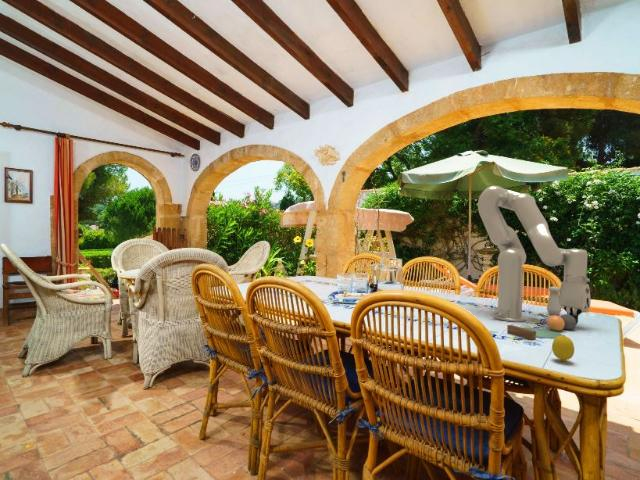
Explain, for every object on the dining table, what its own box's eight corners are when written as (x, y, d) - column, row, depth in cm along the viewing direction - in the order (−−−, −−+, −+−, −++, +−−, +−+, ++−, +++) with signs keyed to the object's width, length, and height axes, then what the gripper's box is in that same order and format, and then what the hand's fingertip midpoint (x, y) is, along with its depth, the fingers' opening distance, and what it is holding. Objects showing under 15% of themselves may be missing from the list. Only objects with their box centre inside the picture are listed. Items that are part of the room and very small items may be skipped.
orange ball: (558, 333, 141) (558, 317, 141) (543, 329, 146) (543, 314, 146) (568, 331, 143) (568, 316, 143) (552, 328, 149) (553, 313, 149)
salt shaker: (564, 315, 171) (564, 287, 171) (551, 315, 171) (552, 287, 171) (556, 313, 177) (556, 286, 177) (544, 312, 177) (544, 285, 177)
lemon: (577, 365, 107) (578, 338, 106) (556, 363, 108) (557, 336, 107) (568, 359, 112) (569, 332, 112) (548, 357, 113) (549, 331, 113)
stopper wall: (532, 340, 131) (532, 331, 131) (507, 333, 140) (507, 325, 140) (535, 339, 132) (536, 331, 132) (510, 332, 141) (511, 324, 141)
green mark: (546, 340, 132) (546, 339, 132) (511, 330, 144) (511, 329, 144) (570, 335, 137) (570, 335, 137) (535, 326, 150) (535, 326, 150)
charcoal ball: (580, 323, 147) (574, 334, 145) (563, 319, 152) (557, 330, 150) (576, 313, 144) (570, 324, 142) (560, 309, 149) (553, 320, 147)
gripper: (600, 281, 144) (598, 328, 145) (561, 276, 158) (559, 319, 158) (589, 282, 141) (587, 330, 142) (550, 277, 154) (548, 321, 155)
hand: (572, 324), depth 150 cm, fingers closed
